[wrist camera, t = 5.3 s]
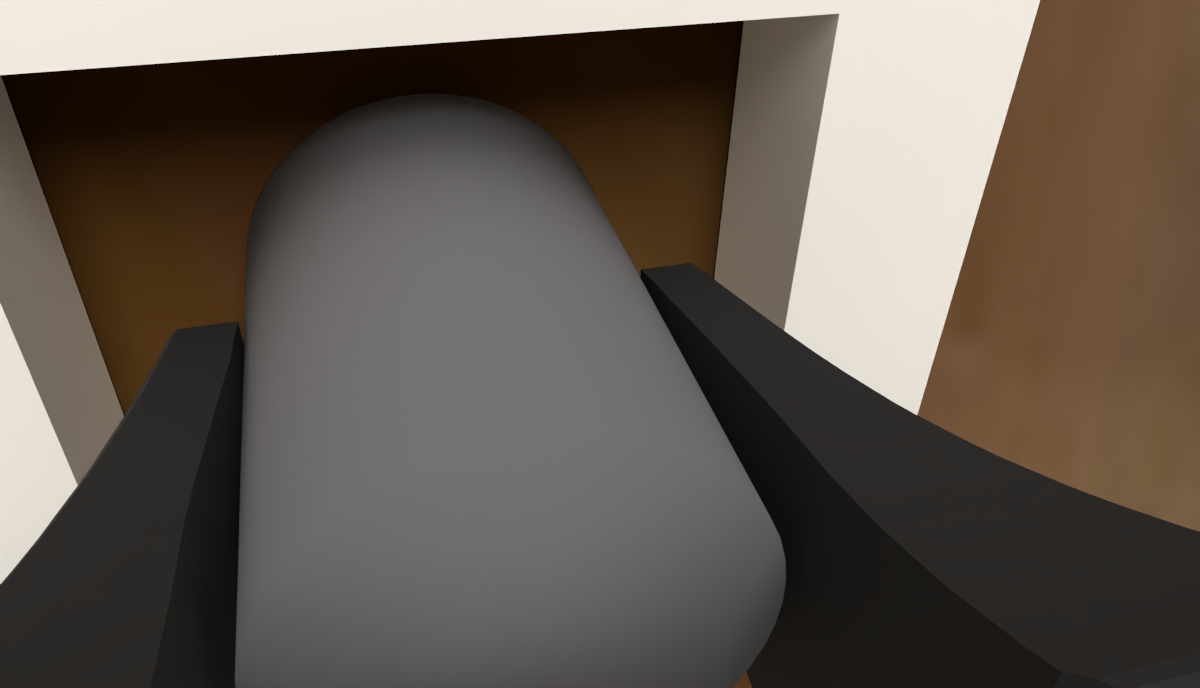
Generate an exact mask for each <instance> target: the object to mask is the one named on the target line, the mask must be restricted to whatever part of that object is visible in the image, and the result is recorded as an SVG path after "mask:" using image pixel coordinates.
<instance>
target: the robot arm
mask: <svg viewBox="0 0 1200 688" xmlns="http://www.w3.org/2000/svg"><path fill="white" fill-rule="evenodd" d="M640 278H641V280H642V282H643V284H644V285H645V287H646V289H647V291H648V293H649V295H650V296H651V298H652V300H653V302H654V304H655V306H656V308H657V309H658V311H659V313H660V315H661V317H662V319H663V320H664V322H665V324H666V326H667V328H668V330H669V331H670V333H671V335H672V337H673V339H674V341H675V342H676V344H677V346H678V348H679V350H680V352H681V354H682V355H683V357H684V359H685V361H686V363H687V365H688V366H689V368H690V370H691V372H692V374H693V376H694V377H695V379H696V381H697V383H698V385H699V387H700V388H701V390H702V392H703V394H704V396H705V398H706V400H707V401H708V403H709V405H710V407H711V409H712V411H713V412H714V414H715V416H716V418H717V420H718V422H719V423H720V425H721V427H722V429H723V431H724V433H725V434H726V436H727V438H728V440H729V442H730V444H731V445H732V447H733V449H734V451H735V453H736V455H737V457H738V458H739V460H740V462H741V464H742V466H743V468H744V469H745V471H746V473H747V475H748V477H749V479H750V480H751V482H752V484H753V486H754V488H755V490H756V491H757V493H758V495H759V497H760V499H761V501H762V503H763V504H764V506H765V508H766V510H767V512H768V514H769V515H770V517H771V519H772V521H773V523H774V526H775V528H776V530H777V532H778V534H779V536H780V538H781V542H782V547H783V551H784V555H785V561H786V584H785V590H784V597H783V603H782V606H781V609H780V612H779V615H778V618H777V621H776V624H775V626H774V628H773V630H772V632H771V634H770V636H769V638H768V640H767V642H766V644H765V646H764V647H763V649H762V650H761V652H760V653H759V654H758V656H757V657H756V659H755V660H754V662H753V663H752V665H751V666H750V668H749V669H748V670H747V674H748V677H749V680H750V683H751V685H752V688H1200V532H1198V531H1195V530H1191V529H1188V528H1185V527H1182V526H1179V525H1176V524H1173V523H1170V522H1167V521H1164V520H1161V519H1158V518H1155V517H1152V516H1149V515H1147V514H1144V513H1141V512H1138V511H1135V510H1132V509H1129V508H1126V507H1123V506H1120V505H1117V504H1114V503H1112V502H1109V501H1106V500H1104V499H1101V498H1098V497H1096V496H1093V495H1090V494H1088V493H1085V492H1083V491H1080V490H1077V489H1075V488H1072V487H1069V486H1067V485H1064V484H1062V483H1060V482H1057V481H1055V480H1053V479H1050V478H1048V477H1046V476H1043V475H1041V474H1039V473H1036V472H1034V471H1032V470H1029V469H1027V468H1024V467H1022V466H1020V465H1017V464H1015V463H1013V462H1010V461H1008V460H1006V459H1004V458H1001V457H999V456H997V455H995V454H993V453H991V452H988V451H986V450H984V449H982V448H980V447H978V446H976V445H974V444H972V443H970V442H968V441H966V440H964V439H962V438H960V437H958V436H956V435H954V434H952V433H950V432H948V431H946V430H944V429H942V428H941V427H939V426H937V425H935V424H933V423H931V422H929V421H927V420H925V419H923V418H921V417H919V416H917V415H916V414H914V413H912V412H910V411H908V410H907V409H905V408H903V407H901V406H900V405H898V404H896V403H894V402H893V401H891V400H889V399H888V398H886V397H884V396H883V395H881V394H879V393H878V392H876V391H875V390H873V389H871V388H870V387H868V386H866V385H865V384H863V383H862V382H860V381H858V380H857V379H855V378H853V377H852V376H850V375H849V374H847V373H845V372H844V371H842V370H841V369H839V368H838V367H836V366H835V365H833V364H832V363H830V362H829V361H827V360H826V359H824V358H823V357H821V356H820V355H818V354H817V353H815V352H814V351H812V350H811V349H809V348H808V347H806V346H805V345H804V344H802V343H801V342H799V341H798V340H796V339H795V338H794V337H792V336H791V335H789V334H788V333H787V332H785V331H784V330H782V329H781V328H780V327H778V326H777V325H775V324H774V323H773V322H771V321H770V320H768V319H767V318H766V317H764V316H763V315H762V314H760V313H759V312H758V311H756V310H755V309H754V308H752V307H751V306H749V305H748V304H747V303H745V302H744V301H743V300H741V299H740V298H739V297H737V296H736V295H735V294H733V293H732V292H731V291H729V290H728V289H727V288H725V287H724V286H722V285H721V284H720V283H718V282H717V281H716V280H714V279H713V278H712V277H710V276H709V275H707V274H706V273H705V272H703V271H702V270H700V269H699V268H697V267H696V266H694V265H693V264H691V263H688V264H680V265H672V266H664V267H657V268H649V269H641V277H640ZM243 365H244V344H243V340H242V336H241V332H240V328H239V324H238V322H230V323H223V324H215V325H207V326H199V327H192V328H184V329H177V330H176V332H175V333H174V334H173V335H172V336H171V337H170V338H169V340H168V341H167V343H166V345H165V347H164V349H163V351H162V352H161V354H160V356H159V358H158V360H157V361H156V363H155V365H154V367H153V368H152V370H151V372H150V374H149V375H148V377H147V379H146V381H145V382H144V384H143V386H142V387H141V389H140V391H139V392H138V394H137V396H136V397H135V399H134V401H133V402H132V404H131V406H130V407H129V409H128V411H127V412H126V414H125V416H124V417H123V419H122V420H121V422H120V423H119V425H118V426H117V428H116V429H115V431H114V433H113V434H112V436H111V437H110V439H109V440H108V442H107V443H106V445H105V446H104V448H103V449H102V451H101V452H100V454H99V455H98V457H97V458H96V460H95V461H94V463H93V465H92V466H91V468H90V469H89V470H88V472H87V473H86V475H85V476H84V478H83V479H82V480H81V482H80V483H79V485H78V486H77V487H76V489H75V490H74V491H73V493H72V494H71V495H70V497H69V498H68V499H67V501H66V502H65V503H64V505H63V506H62V507H61V509H60V510H59V511H58V513H57V514H56V515H55V517H54V518H53V519H52V521H51V522H50V523H49V525H48V526H47V527H46V529H45V530H44V531H43V533H42V534H41V536H40V537H39V538H38V539H37V541H36V542H35V543H34V544H33V546H32V547H31V548H30V549H29V551H28V552H27V553H26V554H25V555H24V557H23V558H22V559H21V560H20V562H19V563H18V564H17V565H16V566H15V568H14V569H13V570H12V571H11V572H10V574H9V575H8V576H7V577H6V578H5V579H4V581H3V582H2V583H1V584H0V688H236V687H235V655H236V619H237V583H238V546H239V510H240V474H241V437H242V401H243Z"/></svg>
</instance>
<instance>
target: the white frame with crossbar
mask: <svg viewBox="0 0 1200 688" xmlns="http://www.w3.org/2000/svg"><path fill="white" fill-rule="evenodd" d="M1039 3H1040V0H0V584H1V583H2V582H3V581H4V579H5V578H6V577H7V576H8V575H9V574H10V572H11V571H12V570H13V569H14V568H15V566H16V565H17V564H18V563H19V562H20V560H21V559H22V558H23V557H24V555H25V554H26V553H27V552H28V551H29V549H30V548H31V547H32V546H33V544H34V543H35V542H36V541H37V539H38V538H39V537H40V536H41V534H42V533H43V531H44V530H45V529H46V527H47V526H48V525H49V523H50V522H51V521H52V519H53V518H54V517H55V515H56V514H57V513H58V511H59V510H60V509H61V507H62V506H63V505H64V503H65V502H66V501H67V499H68V498H69V497H70V495H71V494H72V493H73V491H74V490H75V489H76V487H77V486H78V485H79V483H80V482H81V480H82V479H83V478H84V476H85V475H86V473H87V472H88V470H89V469H90V468H91V466H92V465H93V463H94V461H95V460H96V458H97V457H98V455H99V454H100V452H101V451H102V449H103V448H104V446H105V445H106V443H107V442H108V440H109V439H110V437H111V436H112V434H113V433H114V431H115V429H116V428H117V426H118V425H119V423H120V422H121V420H122V419H123V417H124V415H123V412H122V409H121V407H120V404H119V401H118V398H117V396H116V393H115V390H114V387H113V385H112V382H111V379H110V376H109V373H108V371H107V368H106V365H105V362H104V360H103V357H102V354H101V351H100V349H99V346H98V343H97V340H96V338H95V335H94V332H93V329H92V326H91V324H90V321H89V318H88V315H87V313H86V310H85V307H84V304H83V302H82V299H81V296H80V293H79V290H78V288H77V285H76V282H75V279H74V277H73V274H72V271H71V268H70V266H69V263H68V260H67V257H66V254H65V252H64V249H63V246H62V243H61V241H60V238H59V235H58V232H57V230H56V227H55V224H54V221H53V219H52V216H51V213H50V210H49V207H48V205H47V202H46V199H45V196H44V194H43V191H42V188H41V185H40V183H39V180H38V177H37V174H36V171H35V169H34V166H33V163H32V160H31V158H30V155H29V152H28V149H27V147H26V144H25V141H24V138H23V136H22V133H21V130H20V127H19V124H18V122H17V119H16V116H15V113H14V111H13V108H12V105H11V102H10V100H9V97H8V94H7V91H6V88H5V86H4V83H3V80H2V77H1V75H11V74H24V73H38V72H52V71H65V70H79V69H92V68H106V67H120V66H133V65H147V64H160V63H174V62H188V61H201V60H215V59H228V58H242V57H255V56H269V55H283V54H296V53H310V52H323V51H337V50H351V49H364V48H378V47H391V46H405V45H419V44H432V43H446V42H459V41H473V40H487V39H500V38H514V37H527V36H541V35H555V34H568V33H582V32H595V31H609V30H623V29H636V28H650V27H663V26H677V25H691V24H704V23H718V22H731V21H744V24H743V32H742V41H741V50H740V58H739V67H738V76H737V84H736V93H735V102H734V110H733V119H732V128H731V136H730V145H729V154H728V163H727V171H726V180H725V189H724V197H723V206H722V215H721V223H720V232H719V241H718V249H717V258H716V267H715V275H714V280H716V281H717V282H718V283H720V284H721V285H722V286H724V287H725V288H727V289H728V290H729V291H731V292H732V293H733V294H735V295H736V296H737V297H739V298H740V299H741V300H743V301H744V302H745V303H747V304H748V305H749V306H751V307H752V308H754V309H755V310H756V311H758V312H759V313H760V314H762V315H763V316H764V317H766V318H767V319H768V320H770V321H771V322H773V323H774V324H775V325H777V326H778V327H780V328H781V329H782V330H784V331H785V332H787V333H788V334H789V335H791V336H792V337H794V338H795V339H796V340H798V341H799V342H801V343H802V344H804V345H805V346H806V347H808V348H809V349H811V350H812V351H814V352H815V353H817V354H818V355H820V356H821V357H823V358H824V359H826V360H827V361H829V362H830V363H832V364H833V365H835V366H836V367H838V368H839V369H841V370H842V371H844V372H845V373H847V374H849V375H850V376H852V377H853V378H855V379H857V380H858V381H860V382H862V383H863V384H865V385H866V386H868V387H870V388H871V389H873V390H875V391H876V392H878V393H879V394H881V395H883V396H884V397H886V398H888V399H889V400H891V401H893V402H894V403H896V404H898V405H900V406H901V407H903V408H905V409H907V410H908V411H910V412H912V413H914V414H916V415H917V414H918V411H919V407H920V404H921V401H922V397H923V394H924V390H925V387H926V384H927V380H928V377H929V374H930V370H931V367H932V363H933V360H934V357H935V353H936V350H937V347H938V343H939V340H940V336H941V333H942V330H943V326H944V323H945V320H946V316H947V313H948V309H949V306H950V303H951V299H952V296H953V293H954V289H955V286H956V282H957V279H958V276H959V272H960V269H961V266H962V262H963V259H964V256H965V252H966V249H967V245H968V242H969V239H970V235H971V232H972V229H973V225H974V222H975V218H976V215H977V212H978V208H979V205H980V202H981V198H982V195H983V191H984V188H985V185H986V181H987V178H988V175H989V171H990V168H991V164H992V161H993V158H994V154H995V151H996V148H997V144H998V141H999V137H1000V134H1001V131H1002V127H1003V124H1004V121H1005V117H1006V114H1007V110H1008V107H1009V104H1010V100H1011V97H1012V94H1013V90H1014V87H1015V84H1016V80H1017V77H1018V73H1019V70H1020V67H1021V63H1022V60H1023V57H1024V53H1025V50H1026V46H1027V43H1028V40H1029V36H1030V33H1031V30H1032V26H1033V23H1034V19H1035V16H1036V13H1037V9H1038V6H1039Z"/></svg>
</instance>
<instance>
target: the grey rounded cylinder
mask: <svg viewBox="0 0 1200 688" xmlns="http://www.w3.org/2000/svg"><path fill="white" fill-rule="evenodd" d="M785 584H786V561H785V555H784V551H783V547H782V542H781V538H780V536H779V534H778V532H777V530H776V528H775V526H774V523H773V521H772V519H771V517H770V515H769V514H768V512H767V510H766V508H765V506H764V504H763V503H762V501H761V499H760V497H759V495H758V493H757V491H756V490H755V488H754V486H753V484H752V482H751V480H750V479H749V477H748V475H747V473H746V471H745V469H744V468H743V466H742V464H741V462H740V460H739V458H738V457H737V455H736V453H735V451H734V449H733V447H732V445H731V444H730V442H729V440H728V438H727V436H726V434H725V433H724V431H723V429H722V427H721V425H720V423H719V422H718V420H717V418H716V416H715V414H714V412H713V411H712V409H711V407H710V405H709V403H708V401H707V400H706V398H705V396H704V394H703V392H702V390H701V388H700V387H699V385H698V383H697V381H696V379H695V377H694V376H693V374H692V372H691V370H690V368H689V366H688V365H687V363H686V361H685V359H684V357H683V355H682V354H681V352H680V350H679V348H678V346H677V344H676V342H675V341H674V339H673V337H672V335H671V333H670V331H669V330H668V328H667V326H666V324H665V322H664V320H663V319H662V317H661V315H660V313H659V311H658V309H657V308H656V306H655V304H654V302H653V300H652V298H651V296H650V295H649V293H648V291H647V289H646V287H645V285H644V284H643V282H642V280H641V278H640V276H639V274H638V273H637V271H636V269H635V267H634V265H633V263H632V262H631V260H630V258H629V256H628V254H627V252H626V251H625V249H624V247H623V245H622V243H621V241H620V239H619V238H618V236H617V234H616V232H615V230H614V228H613V227H612V225H611V223H610V221H609V219H608V217H607V216H606V214H605V212H604V210H603V208H602V206H601V205H600V203H599V201H598V199H597V197H596V195H595V193H594V192H593V190H592V188H591V186H590V184H589V182H588V181H587V179H586V177H585V175H584V173H583V171H582V170H581V168H580V167H579V165H578V164H577V163H576V161H575V160H574V158H573V157H572V155H571V154H570V153H569V152H568V151H567V150H566V148H565V147H564V146H563V145H562V144H561V143H560V142H559V141H558V140H557V139H556V138H555V137H554V136H552V135H551V134H550V133H549V132H547V131H546V130H545V129H544V128H542V127H541V126H540V125H538V124H537V123H535V122H534V121H532V120H530V119H528V118H527V117H525V116H523V115H522V114H520V113H518V112H516V111H513V110H511V109H508V108H506V107H504V106H501V105H499V104H496V103H493V102H489V101H485V100H482V99H478V98H474V97H468V96H461V95H453V94H414V95H405V96H396V97H392V98H388V99H384V100H380V101H376V102H372V103H369V104H366V105H364V106H361V107H359V108H356V109H353V110H351V111H348V112H346V113H344V114H342V115H340V116H338V117H337V118H335V119H333V120H331V121H329V122H327V123H325V124H324V125H322V126H321V127H320V128H318V129H317V130H315V131H314V132H313V133H311V134H310V135H308V136H307V137H306V138H304V139H303V140H302V141H301V142H300V143H299V144H298V145H297V146H296V147H295V148H294V149H293V150H292V151H291V152H290V153H288V154H287V155H286V157H285V158H284V159H283V160H282V162H281V163H280V164H279V165H278V167H277V168H276V169H275V171H274V172H273V173H272V175H271V176H270V178H269V180H268V181H267V183H266V185H265V187H264V188H263V190H262V192H261V193H260V196H259V199H258V201H257V204H256V206H255V209H254V211H253V214H252V218H251V223H250V227H249V232H248V239H247V256H246V292H245V329H244V365H243V401H242V437H241V474H240V510H239V546H238V583H237V619H236V655H235V687H236V688H732V687H733V686H734V685H735V684H736V683H737V682H738V680H739V679H740V678H741V677H742V676H743V675H744V673H745V672H746V671H747V670H748V669H749V668H750V666H751V665H752V663H753V662H754V660H755V659H756V657H757V656H758V654H759V653H760V652H761V650H762V649H763V647H764V646H765V644H766V642H767V640H768V638H769V636H770V634H771V632H772V630H773V628H774V626H775V624H776V621H777V618H778V615H779V612H780V609H781V606H782V603H783V597H784V590H785Z"/></svg>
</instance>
